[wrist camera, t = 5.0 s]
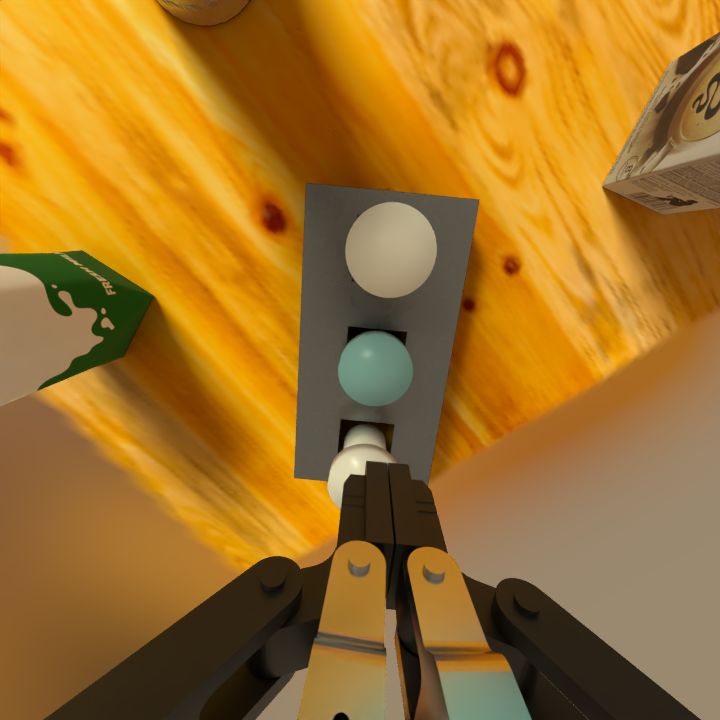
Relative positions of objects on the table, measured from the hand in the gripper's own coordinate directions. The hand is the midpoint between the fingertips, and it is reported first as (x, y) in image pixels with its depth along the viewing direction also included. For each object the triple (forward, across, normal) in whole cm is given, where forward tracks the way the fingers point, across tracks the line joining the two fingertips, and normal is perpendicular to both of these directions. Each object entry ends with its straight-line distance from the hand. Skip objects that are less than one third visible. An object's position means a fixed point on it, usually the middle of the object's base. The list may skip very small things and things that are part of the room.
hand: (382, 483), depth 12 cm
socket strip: (+21, 0, 0) cm, 21 cm away
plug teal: (+18, 0, 0) cm, 18 cm away
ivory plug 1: (+16, 0, -8) cm, 18 cm away
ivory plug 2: (+16, 0, +8) cm, 18 cm away
